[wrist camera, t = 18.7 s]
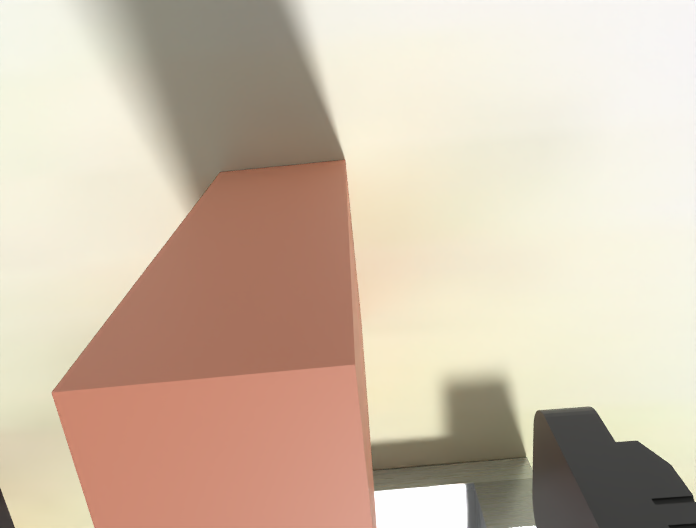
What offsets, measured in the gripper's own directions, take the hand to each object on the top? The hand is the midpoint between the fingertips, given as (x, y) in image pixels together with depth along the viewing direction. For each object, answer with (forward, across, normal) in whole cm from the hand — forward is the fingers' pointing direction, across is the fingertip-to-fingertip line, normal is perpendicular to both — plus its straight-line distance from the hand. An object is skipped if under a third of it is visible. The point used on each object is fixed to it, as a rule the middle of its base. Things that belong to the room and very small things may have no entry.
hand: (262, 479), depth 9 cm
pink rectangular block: (+10, 0, 0) cm, 10 cm away
